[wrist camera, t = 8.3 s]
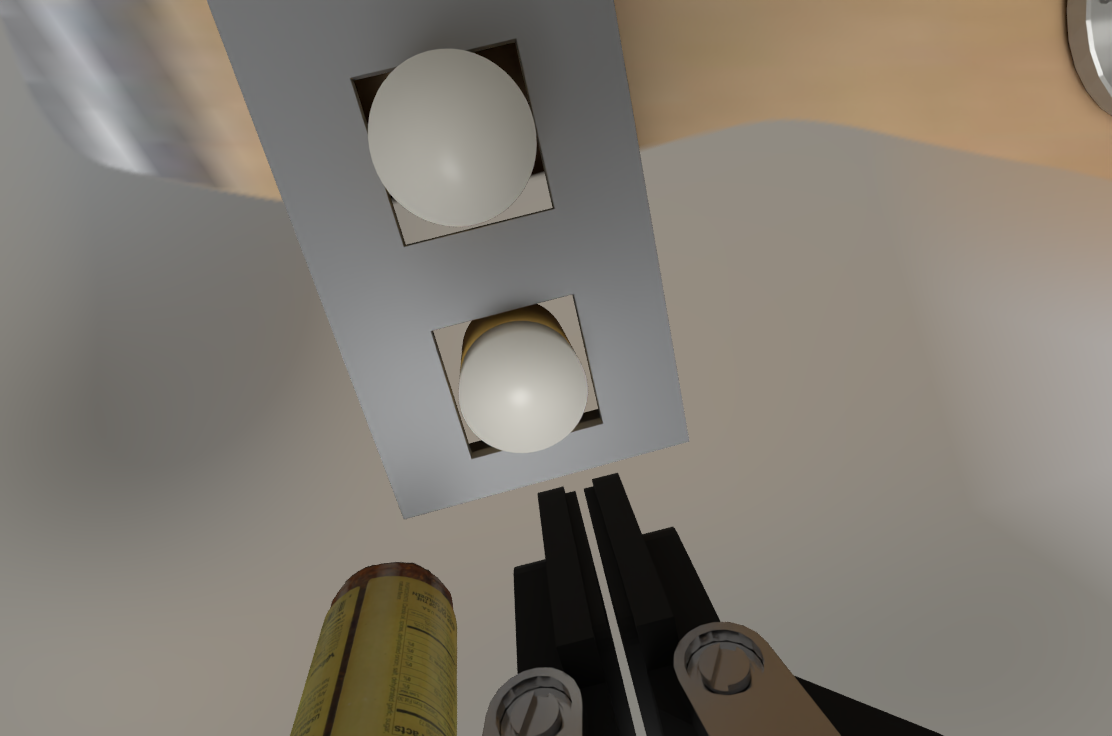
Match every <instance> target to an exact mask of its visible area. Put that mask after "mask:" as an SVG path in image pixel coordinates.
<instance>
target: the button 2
mask: <svg viewBox="0 0 1112 736" xmlns="http://www.w3.org/2000/svg"><path fill="white" fill-rule="evenodd" d="M458 396H459V405H460V409H461V413H462V415H463V417H464V420H465V421H466V423H467V425H468V426H469V427H470V429H471V430H472V432H473V433H474V434H475V435H476V436H477V437H478V438H480V439H481V440H482V441H484V442H485V443H487V444H488V445H490V446H492V447H494V448H497V449H499V450H503V451H506V452H512V453H530V452H536V451H540V450H543V449H546V448H549V447H551V446H553V445H555V444H556V443H558V442H560V441H561V440H562V439H564V438H565V437H566V436H567V435H568V434H569V433H570V432H571V431H572V430H573V429H574V428H575V427H576V425H577V424H578V422H579V421H580V419H581V417H582V415H583V413H584V410H585V407H586V403H587V397H588V385H587V378H586V374H585V371H584V369H583V367H582V364H581V362H580V361H579V359H578V357H577V355H576V353H575V351H574V350H573V348H572V346H571V344H570V342H569V340H568V339H567V337H566V335H565V333H564V331H563V329H562V327H561V326H560V324H559V322H558V321H557V319H556V318H555V317H554V316H553V315H552V314H551V313H550V312H549V311H548V310H546V309H545V308H544V307H542V306H540V305H538V304H533V305H529V306H525V307H522V308H518V309H514V310H510V311H506V312H502V313H498V314H495V315H491V316H487V317H483V318H479V319H475V320H472V321H471V323H470V324H469V326H468V328H467V330H466V332H465V336H464V339H463V346H462V357H461V369H460V381H459V395H458Z"/></svg>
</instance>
